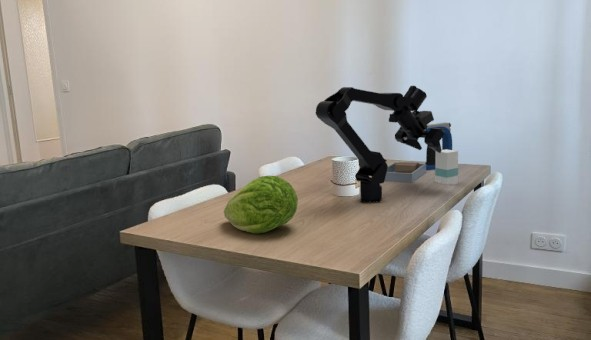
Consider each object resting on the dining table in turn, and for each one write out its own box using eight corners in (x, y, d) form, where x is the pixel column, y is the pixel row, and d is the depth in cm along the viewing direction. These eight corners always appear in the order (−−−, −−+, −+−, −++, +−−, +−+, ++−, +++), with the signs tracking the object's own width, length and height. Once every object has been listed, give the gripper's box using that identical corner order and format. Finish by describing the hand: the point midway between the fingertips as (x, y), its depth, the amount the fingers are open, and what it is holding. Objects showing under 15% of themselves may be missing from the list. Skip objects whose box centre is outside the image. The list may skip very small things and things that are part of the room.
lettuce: (213, 243, 143) (252, 232, 155) (276, 230, 127) (314, 220, 139) (201, 191, 144) (241, 185, 156) (263, 173, 128) (302, 167, 141)
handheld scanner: (415, 170, 209) (415, 124, 205) (445, 166, 215) (446, 120, 211) (422, 172, 205) (422, 125, 201) (452, 167, 211) (453, 121, 207)
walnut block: (414, 175, 197) (414, 165, 196) (394, 174, 201) (394, 164, 200) (419, 172, 202) (418, 162, 201) (399, 171, 206) (399, 161, 205)
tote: (412, 184, 185) (412, 173, 184) (378, 182, 191) (378, 171, 191) (426, 173, 202) (426, 163, 202) (394, 171, 209) (394, 162, 208)
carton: (447, 186, 180) (447, 152, 178) (435, 183, 185) (435, 151, 183) (457, 183, 183) (458, 151, 181) (445, 181, 188) (446, 149, 185)
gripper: (441, 104, 164) (463, 135, 171) (401, 102, 179) (423, 131, 187) (423, 130, 161) (446, 160, 169) (384, 126, 177) (407, 154, 185)
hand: (430, 150), depth 177 cm, fingers open, 9 cm apart
